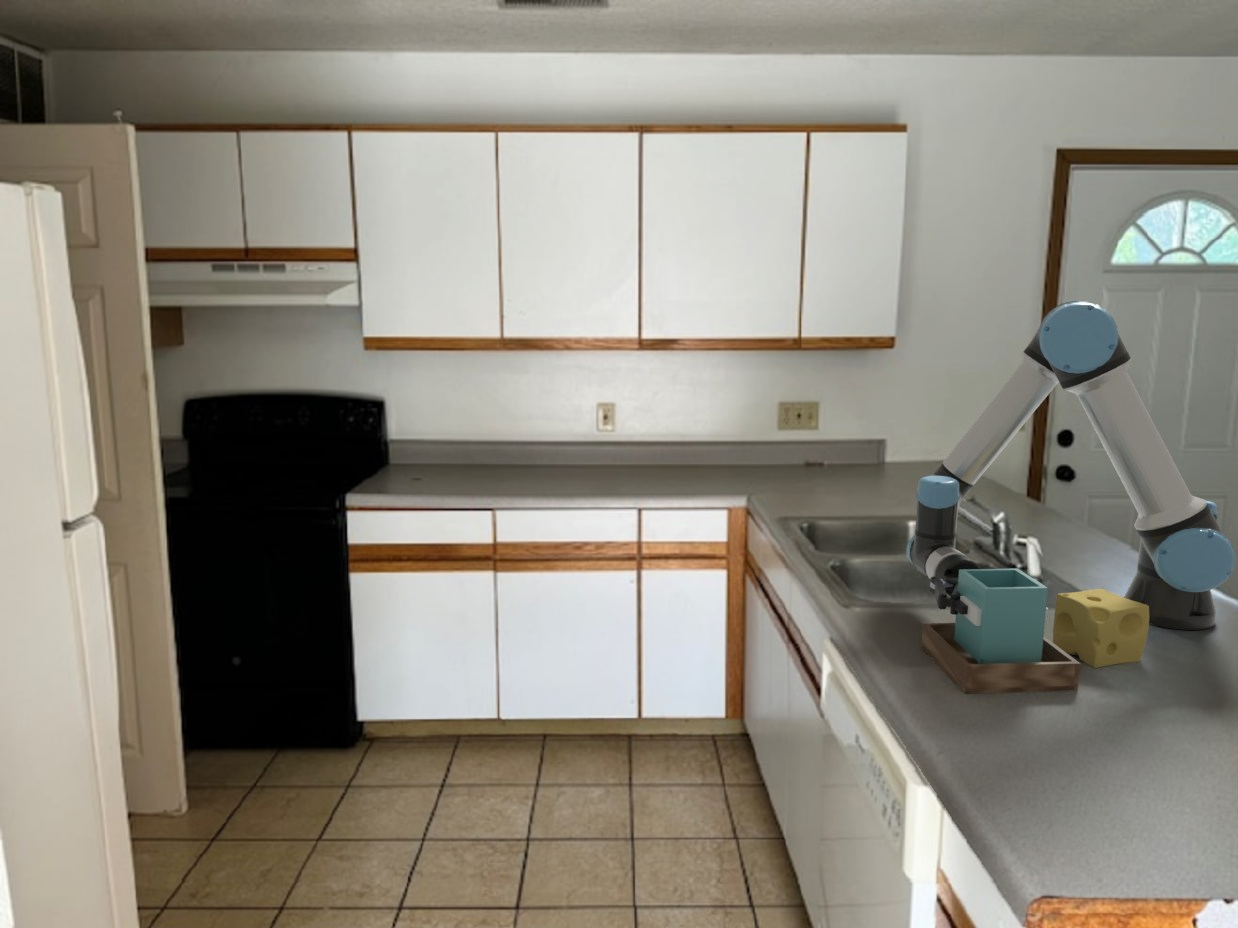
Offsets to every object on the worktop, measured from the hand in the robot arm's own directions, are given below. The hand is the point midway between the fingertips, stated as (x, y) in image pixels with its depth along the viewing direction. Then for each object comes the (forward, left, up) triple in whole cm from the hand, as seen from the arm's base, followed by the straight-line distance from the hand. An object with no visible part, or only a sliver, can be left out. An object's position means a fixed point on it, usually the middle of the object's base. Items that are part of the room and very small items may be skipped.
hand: (1012, 617), depth 143 cm
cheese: (-10, -19, -11) cm, 25 cm away
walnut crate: (+3, -3, -10) cm, 11 cm away
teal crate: (+3, -3, -7) cm, 9 cm away
